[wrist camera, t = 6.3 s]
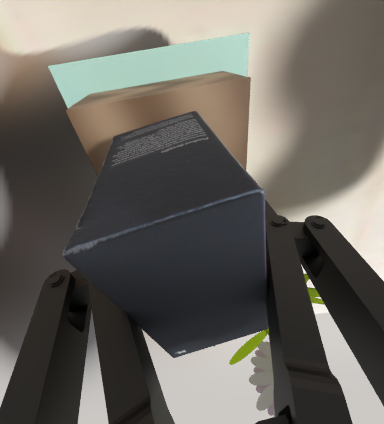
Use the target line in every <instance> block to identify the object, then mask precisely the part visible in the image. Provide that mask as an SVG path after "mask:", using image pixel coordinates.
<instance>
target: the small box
mask: <svg viewBox="0 0 384 424" xmlns="http://www.w3.org/2000/svg"><path fill="white" fill-rule="evenodd" d="M63 257H64V258H65V259H66V260H67V261H68V262H69V263H71V265H72V266H73V267H74V268H76V269H77V270H78V271H79V272H80V273H81V274H83V275H84V276H85V277H86V278H87V279H88V280H89V281H90V282H91V283H92V284H93V285H95V286H96V287H97V288H98V289H99V290H100V291H101V292H102V293H103V294H104V295H105V296H107V297H108V298H109V299H110V300H111V301H112V302H113V303H114V304H115V305H116V306H117V307H119V308H120V309H121V310H122V311H123V312H125V311H126V312H127V313H128V315H129V316H130V317H131V319H132V320H133V321H134V322H135V323H136V324H137V325H138V326H139V327H140V328H141V329H143V330H144V331H145V332H146V333H147V334H148V335H149V336H150V337H151V338H152V339H153V340H155V341H156V342H157V343H158V344H159V345H160V346H161V347H162V348H163V349H164V350H165V351H166V352H167V353H169V354H170V355H171V356H172V357H173V358H176V357H179V356H182V355H185V354H188V353H191V352H195V351H198V350H201V349H204V348H208V347H211V346H214V345H217V344H221V343H224V342H227V341H230V340H233V339H237V338H240V337H244V336H247V335H250V334H253V333H256V332H260V331H263V330H267V329H268V319H267V309H266V301H267V283H266V234H265V192H264V191H263V190H262V189H261V188H260V187H259V186H258V185H257V183H256V182H255V181H254V180H253V178H252V177H251V176H250V175H249V174H248V173H247V171H246V170H245V169H244V168H243V167H242V165H241V164H240V163H239V162H238V161H237V159H236V158H235V157H234V156H233V155H232V154H231V152H230V151H229V150H228V149H227V148H226V146H225V145H224V144H223V143H222V142H221V140H220V139H219V138H218V137H217V136H216V134H215V133H214V132H213V131H212V129H211V128H210V127H209V126H208V125H207V123H206V122H205V121H204V120H203V118H202V117H201V116H200V115H199V114H198V112H197V111H192V112H189V113H185V114H182V115H179V116H175V117H172V118H169V119H166V120H163V121H160V122H156V123H153V124H150V125H147V126H144V127H141V128H138V129H135V130H131V131H128V132H125V133H122V134H119V135H116V136H114V137H113V139H112V143H111V145H110V148H109V151H108V153H107V155H106V159H105V161H104V163H103V165H102V168H101V170H100V173H99V175H98V178H97V180H96V182H95V184H94V188H93V190H92V193H91V196H90V197H89V199H88V203H87V205H86V207H85V209H84V211H83V214H82V215H81V217H80V219H79V221H78V223H77V226H76V228H75V231H74V232H73V233H72V234H71V237H70V238H69V240H68V242H67V244H66V246H65V248H64V250H63Z"/></svg>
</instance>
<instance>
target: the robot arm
mask: <svg viewBox="0 0 384 424" xmlns="http://www.w3.org/2000/svg"><path fill="white" fill-rule="evenodd" d="M265 234H266V283H267V301H266V309H267V319H268V329H269V339H270V349H271V359H272V369H273V379H274V390H273V396H274V410H275V417H273V418H270V419H266V420H262V421H258V422H257V423H256V424H352V420H351V417H350V414H349V410H348V407H347V403H346V400H345V397H344V394H343V391H342V388H341V386H340V384H339V382H338V380H337V378H335V376H334V375H333V374H332V373H331V371H330V369H329V366H328V362H327V359H326V355H325V351H324V348H323V344H322V341H321V336H320V333H319V329H318V326H317V322H316V319H315V314H314V311H313V307H312V303H311V300H310V296H309V292H308V289H307V285H306V281H305V277H304V274H303V270H302V266H303V268H304V269H305V271H306V273H307V275H308V276H309V278H310V280H311V282H312V283H313V285H314V287H315V288H316V290H317V292H318V294H319V295H320V297H321V299H322V301H323V302H324V304H325V306H326V307H327V309H328V311H329V313H330V314H331V316H332V318H333V319H334V321H335V323H336V324H337V326H338V328H339V330H340V332H341V333H342V335H343V337H344V338H345V340H346V342H347V344H348V345H349V347H350V349H351V350H352V352H353V354H354V355H355V357H356V359H357V361H358V363H359V364H360V366H361V368H362V369H363V371H364V373H365V375H366V376H367V378H368V380H369V381H370V383H371V385H372V386H373V388H374V390H375V392H376V394H377V395H378V397H379V399H380V400H381V402H382V404H383V406H384V281H383V280H382V279H381V278H380V277H379V276H378V275H377V274H376V272H375V271H374V270H373V269H372V268H371V267H370V266H369V265H368V263H367V262H366V261H365V260H364V259H363V258H362V257H361V256H360V254H359V253H358V252H357V251H356V250H355V249H354V248H353V247H352V245H351V244H350V243H349V242H348V241H347V240H346V239H345V238H344V236H343V235H342V234H341V233H340V232H339V231H338V230H337V229H336V227H335V226H334V225H333V224H332V223H331V222H330V221H329V220H328V219H326V218H324V217H321V216H309V217H307V218H306V219H305V222H289V221H288V219H286V218H285V217H283V216H280V215H277V214H276V213H275V211H274V210H273V209H272V208H271V206H270V205H269V204H268V203H267V201H266V200H265ZM301 264H302V266H301ZM91 309H92V314H93V320H94V327H95V334H96V340H97V347H98V354H99V361H100V367H101V374H102V381H103V387H104V394H105V400H106V408H107V414H108V422H109V424H175V423H174V421H173V418H172V416H171V414H170V412H169V410H168V408H167V405H166V402H165V399H164V396H163V393H162V390H161V386H160V383H159V381H158V377H157V375H156V371H155V368H154V365H153V362H152V359H151V356H150V353H149V350H148V347H147V344H146V341H145V338H144V335H143V332H142V329H141V328H140V327H139V326H138V325H137V324H136V323H135V322H134V321H133V320H132V319H131V317H130V316H129V315H128V313H127V312H126V311H125V312H123V311H122V310H121V309H120V308H119V307H117V306H116V305H115V304H114V303H113V302H112V301H111V300H110V299H109V298H108V297H107V296H105V295H104V294H103V293H102V292H101V291H100V290H99V289H98V288H97V287H96V286H95V285H93V284H92V283H91V282H90V281H89V280H88V279H87V278H86V277H85V276H84V275H83V274H81V273H80V272H79V271H78V270H76V271H74V272H72V273H70V272H69V271H68V270H65V269H64V270H59V271H56V272H54V273H53V274H51V275H50V276H49V277H48V278H47V279H46V280H45V283H44V284H43V287H42V290H41V292H40V295H39V298H38V301H37V304H36V307H35V310H34V313H33V315H32V318H31V321H30V324H29V327H28V330H27V333H26V335H25V338H24V341H23V344H22V347H21V350H20V353H19V356H18V358H17V361H16V364H15V367H14V370H13V373H12V376H11V378H10V381H9V384H8V387H7V390H6V393H5V396H4V399H3V401H2V405H1V407H0V424H77V423H78V415H79V407H80V399H81V390H82V382H83V374H84V366H85V358H86V349H87V342H88V334H89V325H90V318H91Z"/></svg>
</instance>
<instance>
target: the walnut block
mask: <svg viewBox="0 0 384 424" xmlns="http://www.w3.org/2000/svg"><path fill="white" fill-rule="evenodd" d="M250 80H251V78H250V77H246V76H242V75H238V74H234V73H230V72H226V71H219V72H213V73H207V74H202V75H196V76H190V77H184V78H179V79H173V80H167V81H161V82H156V83H150V84H144V85H138V86H133V87H127V88H121V89H115V90H110V91H104V92H98V93H92V94H89V95H87V96H86V97H84V98H83V99H82V100H80V101H79V102H77V103H76V104H74V105H73V106H71V107H70V108H68V109H67V110H66V112H67V115H68V117H69V119H70V120H71V123H72V125H73V127H74V129H75V131H76V133H77V135H78V137H79V139H80V141H81V143H82V145H83V147H84V149H85V151H86V153H87V156H88V158H89V160H90V162H91V164H92V166H93V168H94V170H95V172H96V174H97V176H98V175H99V173H100V170H101V168H102V165H103V163H104V161H105V159H106V155H107V153H108V151H109V148H110V145H111V143H112V139H113V137H114V136H116V135H119V134H122V133H125V132H128V131H131V130H135V129H138V128H141V127H144V126H147V125H150V124H153V123H156V122H160V121H163V120H166V119H169V118H172V117H175V116H179V115H182V114H185V113H189V112H192V111H197V112H198V114H199V115H200V116H201V117H202V118H203V120H204V121H205V122H206V123H207V125H208V126H209V127H210V128H211V129H212V131H213V132H214V133H215V134H216V136H217V137H218V138H219V139H220V140H221V142H222V143H223V144H224V145H225V146H226V148H227V149H228V150H229V151H230V152H231V154H232V155H233V156H234V157H235V158H236V159H237V161H238V162H239V163H240V164H241V165H242V167H243V168H244V169H245V170H246V163H247V142H248V121H249V100H250Z"/></svg>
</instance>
